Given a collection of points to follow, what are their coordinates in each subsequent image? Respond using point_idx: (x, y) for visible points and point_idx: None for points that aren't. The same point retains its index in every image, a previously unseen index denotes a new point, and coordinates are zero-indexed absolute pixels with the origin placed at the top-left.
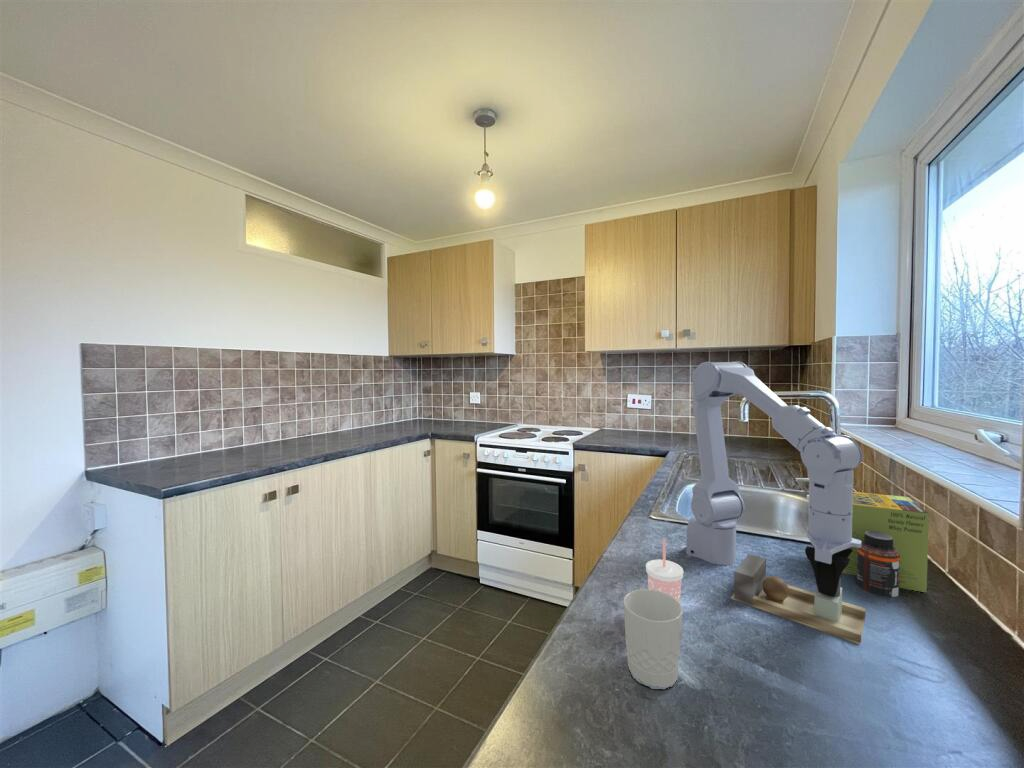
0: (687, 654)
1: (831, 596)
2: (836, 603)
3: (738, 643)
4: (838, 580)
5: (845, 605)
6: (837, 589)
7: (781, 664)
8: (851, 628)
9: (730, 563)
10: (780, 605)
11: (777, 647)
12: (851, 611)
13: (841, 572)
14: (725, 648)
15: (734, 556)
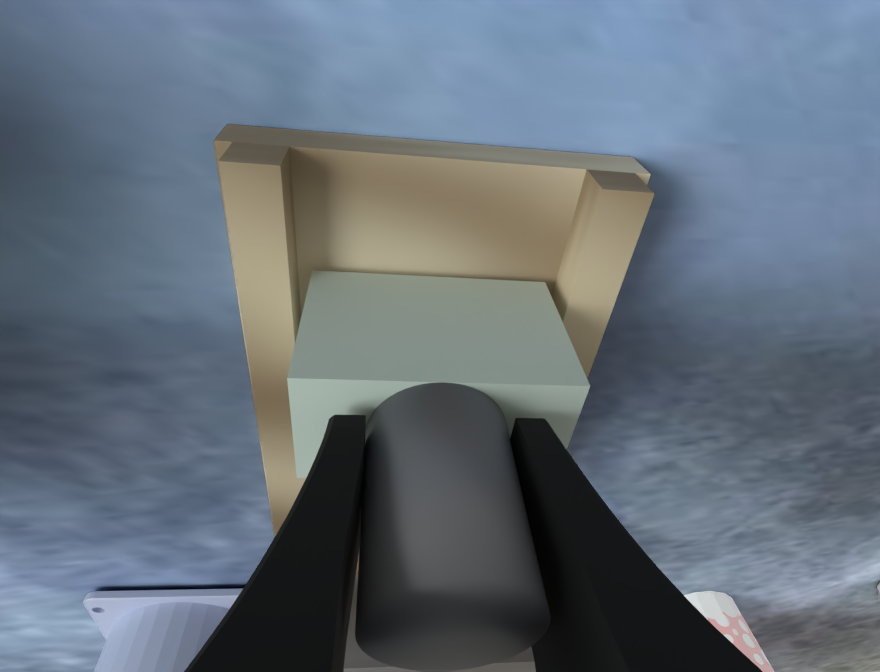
0: (849, 549)
1: (507, 419)
2: (589, 388)
3: (751, 490)
4: (638, 548)
5: (285, 272)
6: (492, 439)
7: (839, 393)
8: (590, 238)
9: (210, 623)
10: None
11: (733, 414)
12: (291, 228)
13: (748, 658)
14: (792, 505)
15: (170, 648)
